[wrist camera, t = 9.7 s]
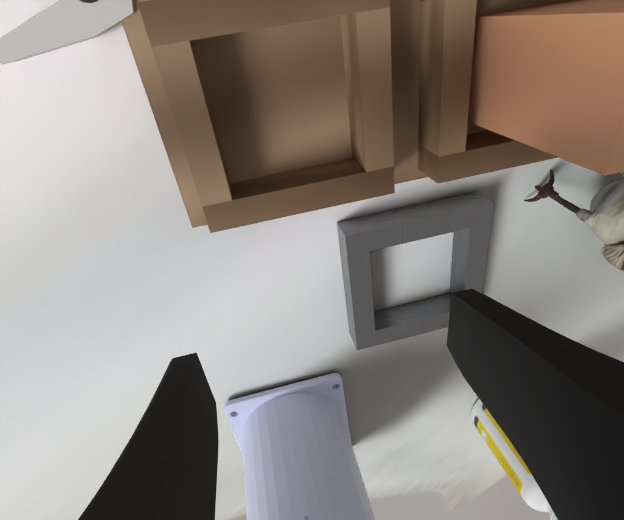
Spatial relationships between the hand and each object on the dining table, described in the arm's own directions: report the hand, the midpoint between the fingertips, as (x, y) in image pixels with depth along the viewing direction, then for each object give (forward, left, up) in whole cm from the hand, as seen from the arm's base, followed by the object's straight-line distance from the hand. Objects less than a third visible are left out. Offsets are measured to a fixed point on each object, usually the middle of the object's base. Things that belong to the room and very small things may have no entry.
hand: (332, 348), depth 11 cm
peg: (+5, -11, -9) cm, 15 cm away
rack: (+5, -6, -10) cm, 13 cm away
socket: (-6, -7, -10) cm, 13 cm away
